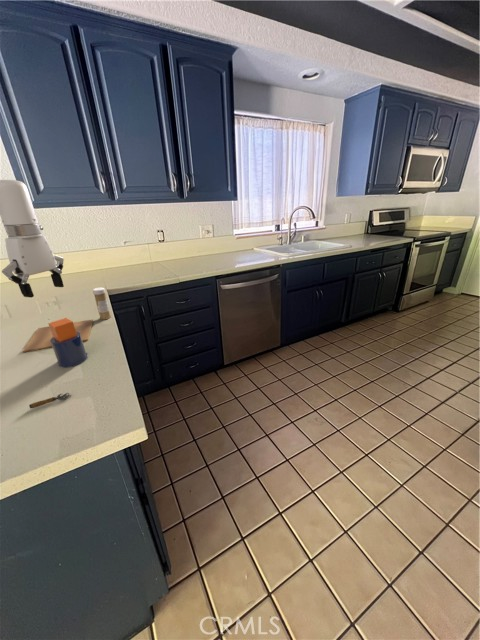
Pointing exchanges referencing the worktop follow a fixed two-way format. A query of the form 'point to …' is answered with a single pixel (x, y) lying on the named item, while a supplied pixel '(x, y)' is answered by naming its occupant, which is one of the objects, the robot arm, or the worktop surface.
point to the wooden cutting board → (44, 336)
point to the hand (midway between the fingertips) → (45, 291)
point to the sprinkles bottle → (101, 303)
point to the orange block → (62, 329)
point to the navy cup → (69, 351)
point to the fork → (49, 400)
